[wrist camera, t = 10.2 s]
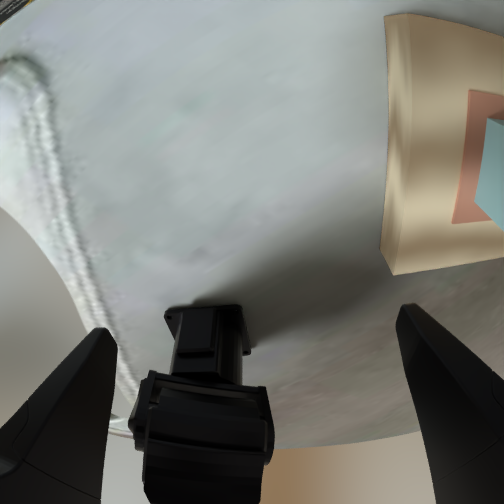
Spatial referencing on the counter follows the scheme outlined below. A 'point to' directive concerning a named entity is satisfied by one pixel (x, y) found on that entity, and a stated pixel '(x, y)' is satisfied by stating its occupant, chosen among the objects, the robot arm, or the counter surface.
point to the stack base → (439, 142)
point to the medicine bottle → (11, 8)
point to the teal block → (492, 173)
